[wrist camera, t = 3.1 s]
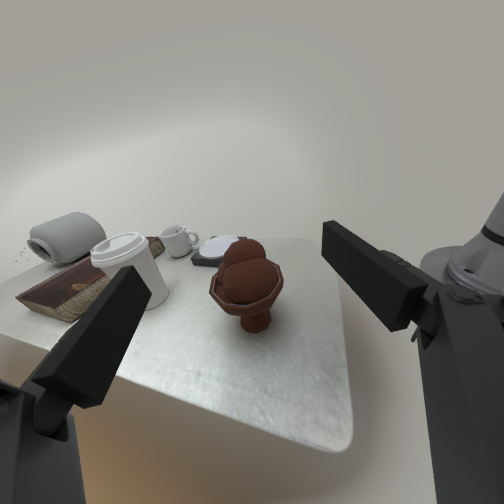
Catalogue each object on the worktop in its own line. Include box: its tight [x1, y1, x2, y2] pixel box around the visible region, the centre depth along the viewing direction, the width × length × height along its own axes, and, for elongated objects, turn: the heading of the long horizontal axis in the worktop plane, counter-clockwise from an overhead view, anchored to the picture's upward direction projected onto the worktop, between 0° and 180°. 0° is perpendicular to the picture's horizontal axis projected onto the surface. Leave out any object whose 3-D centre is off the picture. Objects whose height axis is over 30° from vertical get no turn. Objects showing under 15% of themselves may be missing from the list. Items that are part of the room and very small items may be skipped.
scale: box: [191, 235, 247, 267], centre depth 51 cm, size 12×12×3 cm
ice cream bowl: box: [209, 239, 284, 333], centre depth 27 cm, size 11×11×15 cm
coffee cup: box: [90, 232, 169, 310], centre depth 36 cm, size 10×10×15 cm
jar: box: [10, 212, 106, 267], centre depth 62 cm, size 19×15×25 cm
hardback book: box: [15, 237, 165, 323], centre depth 51 cm, size 29×19×5 cm, turn 161°
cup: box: [158, 225, 199, 257], centre depth 54 cm, size 11×8×8 cm
